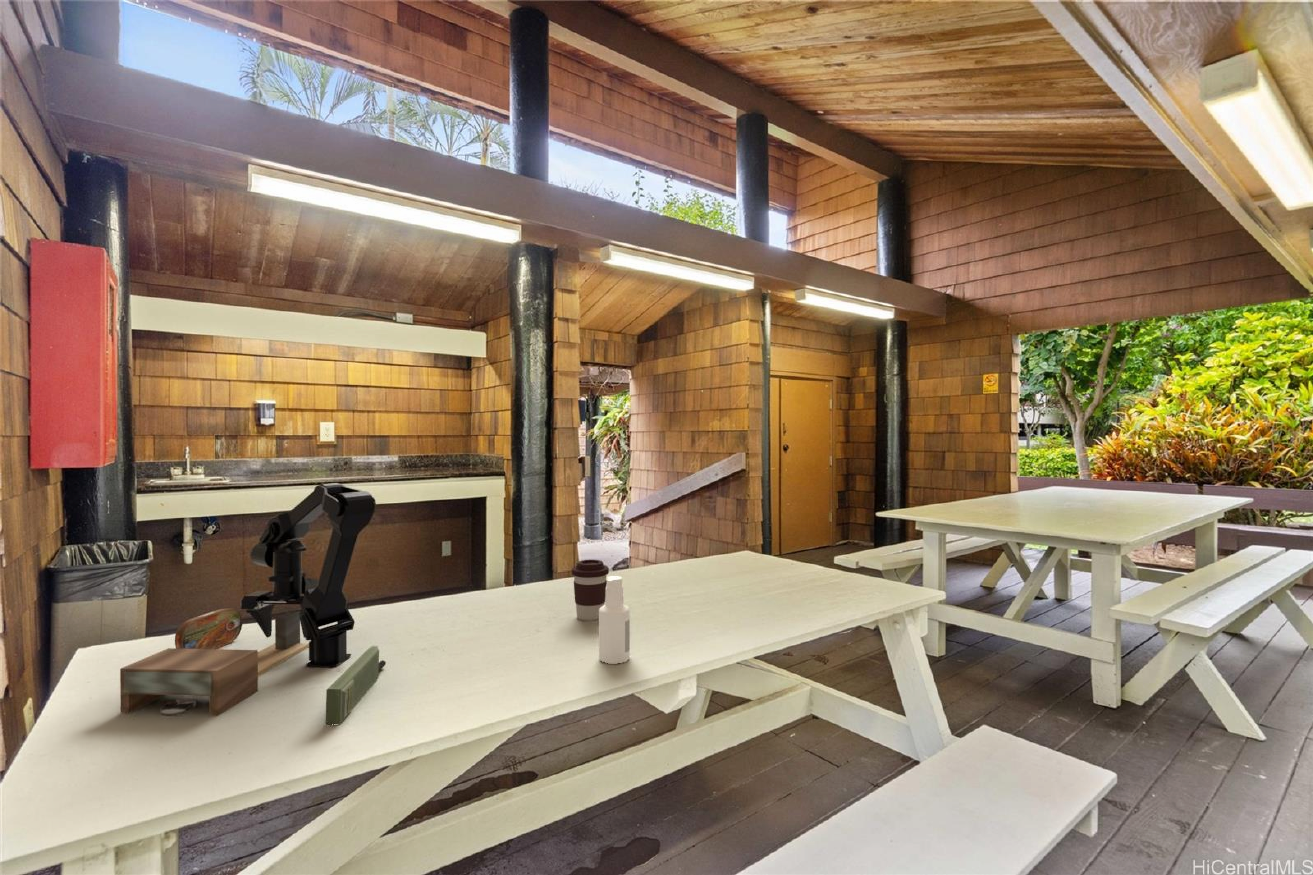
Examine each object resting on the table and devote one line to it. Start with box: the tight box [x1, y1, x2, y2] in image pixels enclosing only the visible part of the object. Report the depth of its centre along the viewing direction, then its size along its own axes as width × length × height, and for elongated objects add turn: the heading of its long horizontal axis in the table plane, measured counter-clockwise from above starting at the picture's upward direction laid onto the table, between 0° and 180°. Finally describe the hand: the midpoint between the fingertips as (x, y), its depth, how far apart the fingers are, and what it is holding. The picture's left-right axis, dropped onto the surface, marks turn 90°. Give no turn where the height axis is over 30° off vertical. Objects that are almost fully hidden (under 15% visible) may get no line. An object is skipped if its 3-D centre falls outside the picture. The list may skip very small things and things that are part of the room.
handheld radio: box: [324, 645, 387, 726], centre depth 115 cm, size 7×3×25 cm
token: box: [160, 697, 197, 717], centre depth 109 cm, size 5×5×1 cm
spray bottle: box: [598, 575, 631, 665], centre depth 133 cm, size 7×7×18 cm
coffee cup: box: [571, 559, 610, 622], centre depth 162 cm, size 10×10×15 cm
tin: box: [174, 607, 243, 649], centre depth 139 cm, size 15×3×8 cm, turn 168°
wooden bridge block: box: [119, 647, 259, 717], centre depth 112 cm, size 18×10×8 cm, turn 87°
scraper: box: [258, 610, 309, 677], centre depth 130 cm, size 8×22×8 cm, turn 177°
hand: (288, 637), depth 139 cm, fingers open, 9 cm apart
